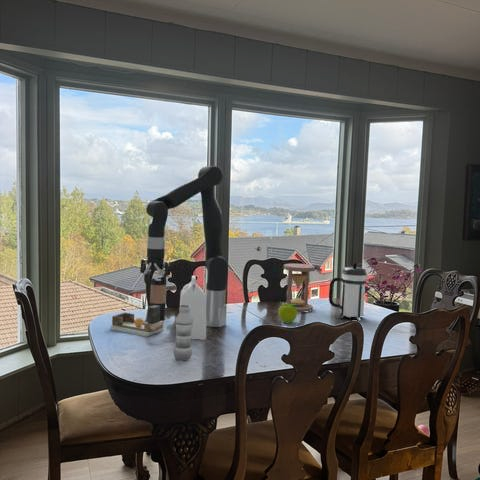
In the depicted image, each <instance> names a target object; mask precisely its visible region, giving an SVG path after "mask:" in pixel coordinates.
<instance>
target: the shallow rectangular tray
mask: <svg viewBox="0 0 480 480" xmlns="http://www.w3.org/2000/svg"><path fill="white" fill-rule="evenodd" d="M135 320H136V319H134V322H135ZM143 322H144V323H146V322H147V321H143ZM144 323H143V325H142V326H141V327H137V326H136V325H135V323H131V322H126V321H125V322H123V325H121V327H120V326H115V325H112V324H111V325H110V328H109V329H110V330H111V331H112V330H113V331H117V332H121V333H122V332H123V333H127V334H128V333H129V334H133V335H138V336H143V337H149V336H151V335H154V334H157V333H159V332H162V331H164V327H163V328H161V329H159V330H156V331H154V332H153V331H150V330H148V329H144Z"/></svg>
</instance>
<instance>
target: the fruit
mask: <svg viewBox="0 0 480 480" xmlns="http://www.w3.org/2000/svg"><path fill="white" fill-rule="evenodd" d="M286 303H287V302H282V301H280V302H279V304H281V305H280V306H279V308H278V317H279V319H280V320H281V321H282V322H283V321H284V323H285V322H291V323H292V322H294V321H295V320H296V319H297V315H298V313H297V309H296V308H295V306H294V305H297V304H291V305H290V304H286ZM282 304H284V305H282Z"/></svg>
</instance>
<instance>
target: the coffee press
mask: <svg viewBox="0 0 480 480" xmlns="http://www.w3.org/2000/svg"><path fill="white" fill-rule="evenodd" d="M341 273H342V277H335V278H332V279H331V281H330V283H329V290H328V301H329V304H330V305H331V306H332V307H335V308H338V309H339V310H340V315H339V316H341V317H342V316H346V317H345V318H351V317H360V316H364V309H365V308H364V307H365V295H366V294H365V293H366V284H367V280H369V279H370V277H369V275H368V272H367V271H366V269H365V268H363V267H358V264H357V262H353V263H352V266H345V267H344V268H343V270H342V271H341ZM336 282H341V294H340V304H339V303H335V301H333V294H334V293H333V292H334V284H335V283H336Z"/></svg>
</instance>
